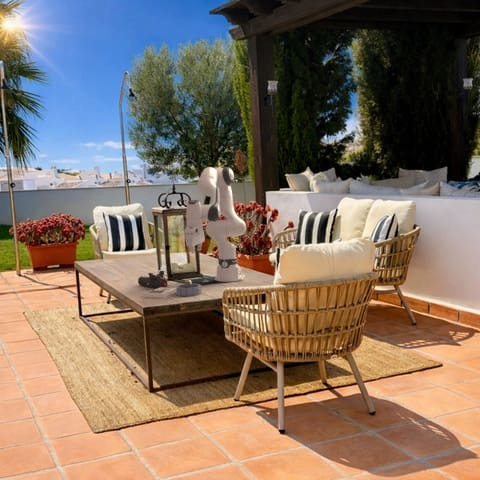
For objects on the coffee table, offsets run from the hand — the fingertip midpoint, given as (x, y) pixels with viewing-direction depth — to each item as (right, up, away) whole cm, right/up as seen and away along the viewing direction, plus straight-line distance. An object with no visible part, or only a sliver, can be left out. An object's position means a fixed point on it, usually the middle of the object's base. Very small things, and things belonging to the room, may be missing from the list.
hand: (196, 252), depth 363 cm
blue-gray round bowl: (-4, -24, 0) cm, 25 cm away
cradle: (-20, -25, +2) cm, 32 cm away
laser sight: (-29, -23, +27) cm, 45 cm away
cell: (-4, -23, 0) cm, 24 cm away
